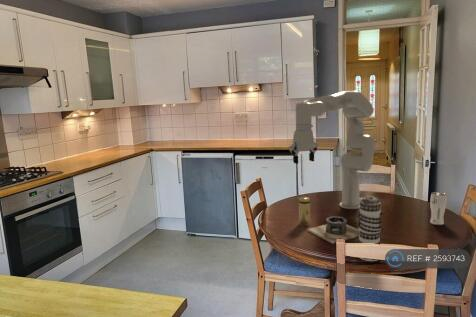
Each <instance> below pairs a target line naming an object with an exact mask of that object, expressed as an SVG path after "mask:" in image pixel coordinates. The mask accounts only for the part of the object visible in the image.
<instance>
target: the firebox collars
mask: <svg viewBox="0 0 476 317" xmlns="http://www.w3.org/2000/svg"><path fill="white" fill-rule="evenodd" d="M334 221H335V222H334ZM338 221H340V223H337V222H338ZM325 223H326V224H327V225H326V224H325V225H326V232H328V233H330V234H336V235H341V234H345V233H346V232H347V226H345V225H348V224H347V223H348V219H347V218H345V217H343V216H334V215H333V216H329V217H326V219H325ZM332 228H340V230H336V229H332Z"/></svg>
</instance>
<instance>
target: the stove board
mask: <svg viewBox="0 0 476 317" xmlns="http://www.w3.org/2000/svg"><path fill="white" fill-rule="evenodd" d="M336 222H337V223H340V222H341V221H340V220H337V221H336ZM326 225H327V224H321V225H318V226H315V227H311V228H308V229H307V232H309V233H310V234H313V235H314V236H317V237H319V238H321V239H323V240H325V241H326V242H328V243H331V245H334V244H337V243H336V239H337V238H342V239H345V241H348V240H351V239H352V240H353V239H355V238H359V235H360V230H359V228H357V227H354V226H351V225H349V224H347V225H345V226H347V232H346V233H345V234H341V235H336V234H330V233H328V232H326ZM332 229H336V230H340V228H332Z"/></svg>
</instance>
